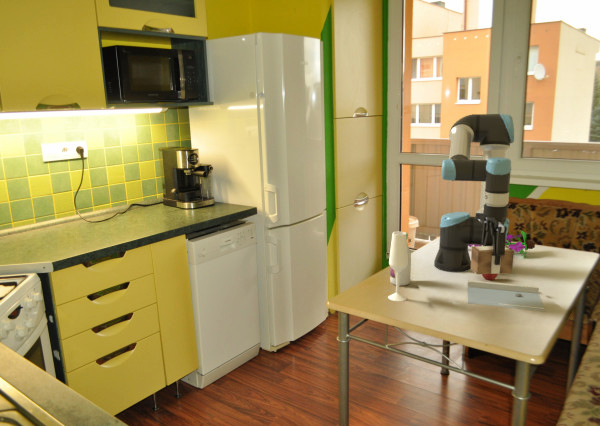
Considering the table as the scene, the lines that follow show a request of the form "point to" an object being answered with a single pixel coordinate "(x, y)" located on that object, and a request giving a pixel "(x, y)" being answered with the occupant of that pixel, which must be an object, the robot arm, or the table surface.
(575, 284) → the table surface
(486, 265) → the frame
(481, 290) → the wall panel
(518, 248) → the potted plant
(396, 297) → the champagne flute
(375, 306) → the table surface
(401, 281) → the milk bottle
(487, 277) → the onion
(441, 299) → the table surface
